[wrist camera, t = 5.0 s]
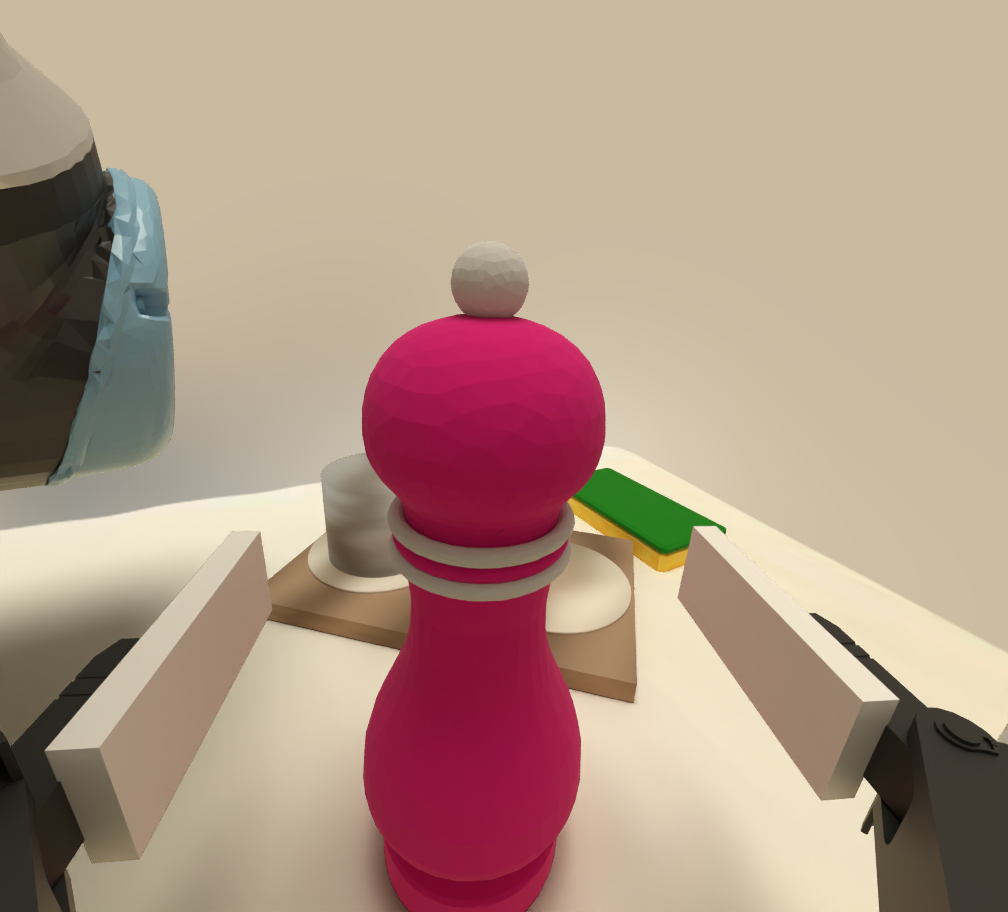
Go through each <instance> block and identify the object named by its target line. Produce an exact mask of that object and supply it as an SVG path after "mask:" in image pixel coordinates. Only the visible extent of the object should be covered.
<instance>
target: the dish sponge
mask: <svg viewBox="0 0 1008 912" xmlns="http://www.w3.org/2000/svg"><path fill="white" fill-rule="evenodd" d="M567 502H568V503H569V504H570V506H571V508H572V511H573V513H574V514H575V515H577V516H578V517H580V518H581V519H583V520H584V521H585V522H587V523H588V524H590V525H591V526H593V527H594V528H596V529H597V530H598V531H600V532H601V533H603V534H604V535H606V536H610V537H616V538H622V539H628V540H633V555H635V556H636V557H637V558H639V559H640V560H642V561H643V562H645V563H646V564H648V565H649V566H650V567H652V568H653V569H655V570H656V571H659V572H666V571H669V570H672V569H674V568H677V567H680V566H683V565H685V562H686V557H687V553H688V548H689V544H690V539H691V534H692V530H693V526H716V527H717V528H718V529H719V530H721V531H722V532H723V533H724V534H726V528H725V527H723V526H721V525H719V524H717V523H715V522H713V521H711V520H710V519H708V518H706V517H704V516H702V515H700V514H698V513H696V512H694V511H692V510H690V509H688V508H686V507H684V506H682V505H680V504H678V503H676V502H674V501H673V500H671V499H669V498H667V497H665V496H663V495H661V494H659V493H657V492H655V491H653V490H651V489H649V488H647V487H645V486H643V485H641V484H639V483H637V482H636V481H634V480H632V479H630V478H628V477H626V476H624V475H622V474H620V473H618V472H616V471H614V470H612V469H610V468H604V469H599V470H595V471H594V473H593V475H592V477H591V478H590V480H589V481H588V482H587V483H586V484H585V486H584V487H583V488H582V489H581V490H580V491H579V492H578V493H576V494H575V495H574V496H573V497H572V498H570V499H569V500H568V501H567Z"/></svg>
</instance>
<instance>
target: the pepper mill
mask: <svg viewBox="0 0 1008 912" xmlns="http://www.w3.org/2000/svg"><path fill="white" fill-rule="evenodd" d="M528 286H529V281H528V273H527V270H526V267H525V265H524V262H523V260H522V259H521V257H520V256H519V255H518V253H517V252H515V251H514V250H512V249H511V248H510V247H508V246H507V245H505V244H503V243H500V242H492V241H484V242H479V243H476V244H474V245H472V246H470V247H469V248H467V249H466V250H465V251H464V252H463V253H462V254H461V255H460V256H459V258H458V259H457V261H456V263H455V265H454V268H453V271H452V277H451V288H452V293H453V296H454V299H455V301H456V303H457V304H458V306H459V308H460V309H461V310H462V311H463V312H464V313H465V314H458V315H454V316H449V317H445V318H441V319H437V320H434V321H431V322H428V323H424V324H422V325H420V326H418V327H416V328H414V329H412V330H410V331H408V332H407V333H406V334H404V335H403V336H401V337H400V338H398V339H397V340H396V341H395V342H394V343H393V344H392V345H391V346H390V347H389V348H388V349H387V350H386V351H385V352H384V354H383V355H382V356H381V358H380V359H379V361H378V363H377V364H376V366H375V368H374V370H373V371H372V373H371V375H370V378H369V381H368V384H367V387H366V390H365V395H364V401H363V406H362V435H363V440H364V446H365V451H366V456H367V458H368V460H369V463H370V465H371V466H372V468H373V469H374V471H375V472H376V474H377V475H378V477H379V478H380V479H381V481H382V482H383V483H384V484H385V485H386V486H387V487H388V488H389V489H390V490H391V491H392V492H393V493H394V494H395V495H396V497H395V498H394V500H393V501H392V502H391V504H390V507H389V510H388V513H387V520H388V525H389V528H390V530H391V532H392V535H391V537H390V540H389V553H390V558H391V560H392V562H393V565H394V566H395V568H396V569H397V570H398V571H399V572H400V573H401V574H402V575H403V576H404V577H405V578H406V579H407V580H408V583H409V589H410V596H411V611H410V626H409V630H408V634H407V638H406V640H405V642H404V644H403V646H402V648H401V651H400V653H399V655H398V657H397V658H396V660H395V662H394V664H393V666H392V668H391V670H390V671H389V673H388V675H387V677H386V679H385V681H384V683H383V685H382V687H381V689H380V691H379V693H378V696H377V698H376V701H375V704H374V708H373V711H372V714H371V718H370V721H369V724H368V728H367V731H366V739H365V752H364V774H363V779H364V787H365V795H366V799H367V802H368V806H369V809H370V812H371V814H372V817H373V819H374V822H375V824H376V826H377V828H378V829H379V831H380V832H381V834H382V835H383V837H384V852H385V860H386V867H387V870H388V874H389V877H390V880H391V882H392V885H393V887H394V890H395V891H396V893H397V895H398V896H399V898H400V900H401V901H402V903H403V904H404V905H405V906H406V908H407V909H408V910H409V911H410V912H525V911H526V910H527V909H528V908H529V906H530V905H531V904H532V902H533V901H534V900H535V899H536V897H537V896H538V895H539V893H540V891H541V889H542V887H543V885H544V883H545V881H546V879H547V877H548V875H549V873H550V869H551V865H552V862H553V858H554V851H555V844H556V838H557V836H558V834H559V833H560V831H561V830H562V828H563V826H564V825H565V823H566V822H567V820H568V818H569V815H570V813H571V810H572V808H573V805H574V803H575V800H576V795H577V791H578V786H579V781H580V758H581V738H580V732H579V726H578V720H577V716H576V712H575V708H574V704H573V701H572V698H571V695H570V692H569V689H568V687H567V684H566V682H565V680H564V678H563V675H562V673H561V671H560V669H559V667H558V665H557V663H556V661H555V659H554V657H553V655H552V652H551V649H550V647H549V644H548V639H547V633H546V604H547V598H548V593H549V588H550V584H551V582H553V581H554V580H555V579H556V578H557V577H558V576H559V575H560V574H561V573H562V572H563V571H564V570H565V568H566V567H567V565H568V563H569V560H570V557H571V542H570V540H569V537H570V535H571V534H572V532H573V528H574V524H575V520H574V513H573V511H572V508H571V506H570V504H569V503H568V502H567V501H568V500H569V499H570V498H572V497H573V496H574V495H575V494H576V493H578V492H579V491H580V490H581V489H582V488H583V487H584V486H585V484H586V483H587V482H588V481H589V480H590V478H591V477H592V475H593V473H594V471H595V469H596V467H597V465H598V463H599V460H600V457H601V454H602V450H603V446H604V442H605V402H604V397H603V394H602V389H601V386H600V383H599V380H598V378H597V376H596V374H595V372H594V370H593V368H592V366H591V364H590V362H589V361H588V360H587V358H586V357H585V356H584V355H583V354H582V353H581V351H580V350H579V349H578V348H577V347H576V346H575V345H574V344H572V343H571V342H570V341H568V339H566V338H565V337H564V336H562V335H561V334H559V333H557V332H555V331H553V330H551V329H549V328H547V327H546V326H544V325H541V324H538V323H535V322H533V321H530V320H527V319H523V318H519V317H514V316H513V315H514V314H516V313H517V312H518V311H519V309H520V308H521V307H522V305H523V303H524V301H525V298H526V295H527V292H528Z"/></svg>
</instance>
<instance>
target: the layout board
mask: <svg viewBox="0 0 1008 912" xmlns="http://www.w3.org/2000/svg"><path fill="white" fill-rule="evenodd" d="M321 482H322V492H323V502H324V512H325V522H326V533H325V534H323V535H322V536H321V537H320V538H319V539H317V540H316V541H315V542H314V543H312V544H311V545H310V546H309V547H308V548H306V549H305V550H304V551H303V552H302V553H300V554H299V555H298V556H297V557H296V558H294V559H293V560H292V561H291V562H289V563H288V564H287V565H286V566H285V567H283V568H282V569H281V570H280V571H279V572H277V573H276V574H275V575H274V576H273V577H271V578H270V579H269V580H268V585H269V592H270V598H271V604H272V611H271V613H270V615H269V617H268V619H269V620H274V621H278V622H282V623H287V624H291V625H296V626H300V627H304V628H309V629H313V630H317V631H322V632H326V633H331V634H335V635H339V636H344V637H348V638H352V639H357V640H361V641H365V642H370V643H374V644H379V645H383V646H387V647H392V648H396V649H400V650H401V648H402V646H403V644H404V642H405V640H406V638H407V634H408V630H409V626H410V611H411V596H410V589H409V583H408V580H407V579H406V578H405V577H404V576H403V575H402V574H401V573H400V572H399V571H398V570H397V569H396V568H395V566H394V565H393V562H392V560H391V558H390V553H389V540H390V537H391V535H392V532H391V530H390V528H389V525H388V520H387V513H388V510H389V507H390V504H391V502H392V501H393V500H394V498H395V497H396V495H395V494H394V493H393V492H392V491H391V490H390V489H389V488H388V487H387V486H386V485H385V484H384V483H383V482H382V481H381V479H380V478H379V477H378V475H377V474H376V472H375V471H374V469H373V468H372V466H371V465H370V463H369V460H368V458H367V456H366V453H361V454H356V455H351V456H348V457H344V458H341V459H338V460H336V461H334V462H332V463H330V464H329V465H327V466H326V467H325V468H324V469H323V471H322V473H321ZM569 540H570V542H571V557H570V560H569V563H568V565H567V567H566V568H565V570H564V571H563V572H562V573H561V574H560V575H559V576H558V577H557V578H556V579H555V580H554V581H553V582H551V584H550V588H549V593H548V598H547V604H546V633H547V639H548V644H549V647H550V649H551V652H552V655H553V657H554V659H555V661H556V663H557V665H558V667H559V669H560V671H561V673H562V675H563V678H564V680H565V682H566V684H567V687H568V688H571V689H575V690H580V691H584V692H588V693H593V694H597V695H602V696H606V697H610V698H615V699H619V700H623V701H628V702H632V703H633V701H634V696H635V691H636V685H637V676H636V641H635V606H634V572H633V540H628V539H622V538H616V537H610V536H603V535H597V534H591V533H585V532H578V531H573V532H572V534H571V535H570V537H569Z"/></svg>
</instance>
